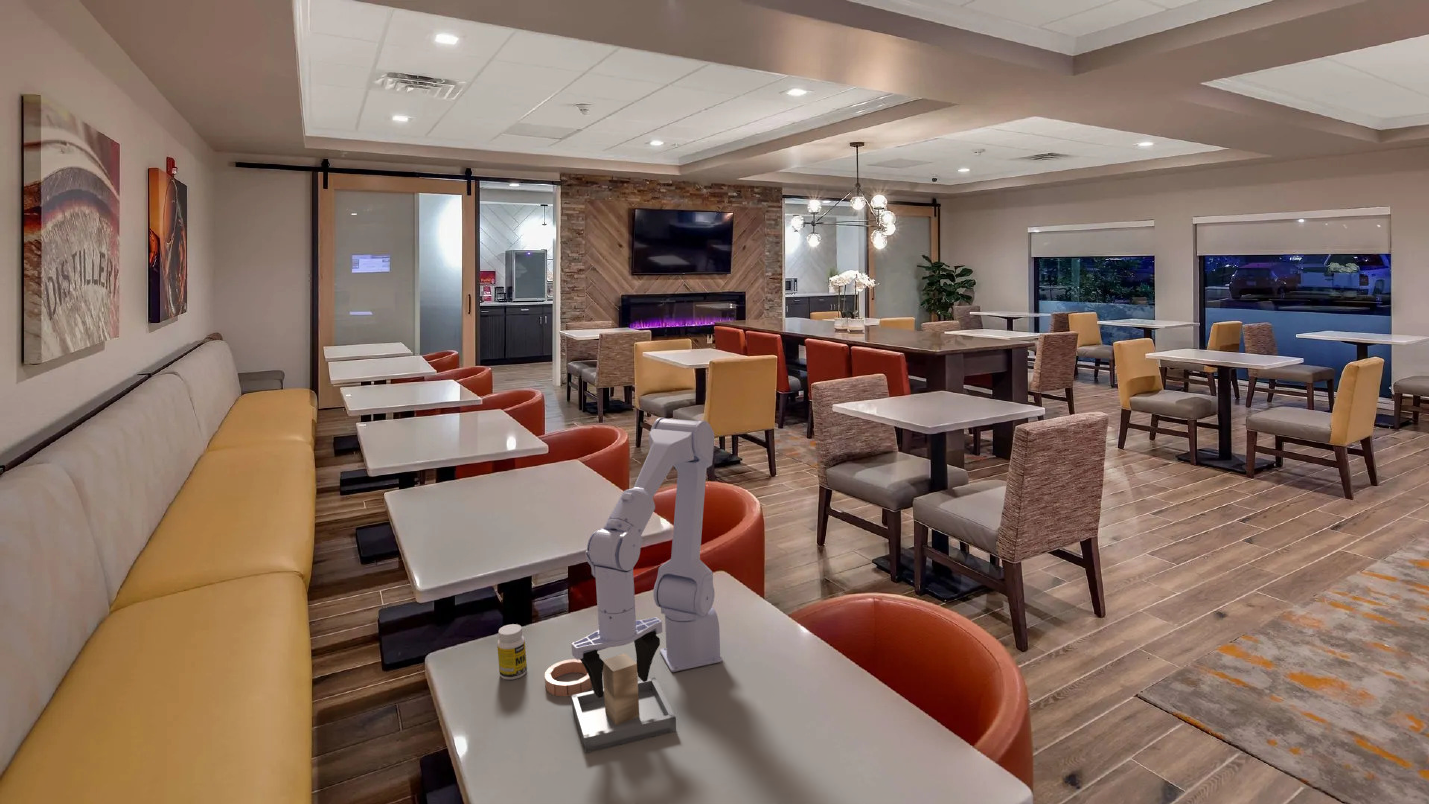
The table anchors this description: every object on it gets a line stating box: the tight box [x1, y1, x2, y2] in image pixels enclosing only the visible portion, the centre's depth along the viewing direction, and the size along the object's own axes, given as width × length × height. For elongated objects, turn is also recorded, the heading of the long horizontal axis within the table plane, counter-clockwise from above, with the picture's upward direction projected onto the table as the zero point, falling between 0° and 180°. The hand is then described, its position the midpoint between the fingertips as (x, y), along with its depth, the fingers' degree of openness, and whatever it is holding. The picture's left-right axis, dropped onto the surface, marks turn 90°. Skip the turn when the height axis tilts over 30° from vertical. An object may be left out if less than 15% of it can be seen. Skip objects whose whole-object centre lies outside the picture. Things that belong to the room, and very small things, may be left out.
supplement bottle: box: [496, 623, 528, 680], centre depth 132 cm, size 5×5×8 cm
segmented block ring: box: [544, 658, 593, 697], centre depth 129 cm, size 8×8×2 cm
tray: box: [570, 677, 677, 753], centre depth 118 cm, size 14×12×2 cm
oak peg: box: [602, 652, 639, 725], centre depth 117 cm, size 4×4×9 cm
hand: (620, 686), depth 117 cm, fingers open, 7 cm apart
